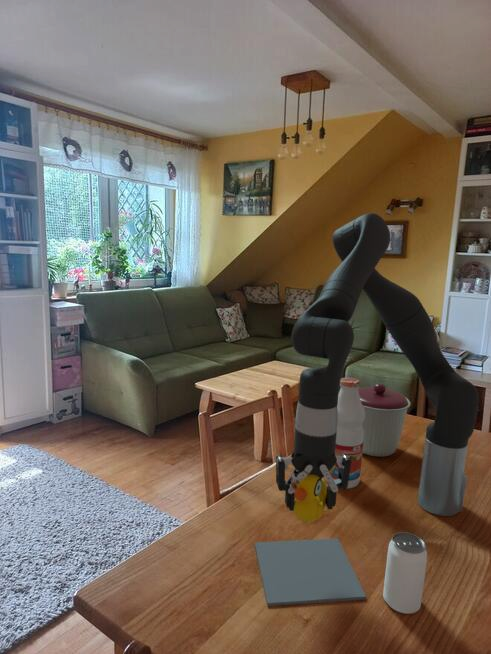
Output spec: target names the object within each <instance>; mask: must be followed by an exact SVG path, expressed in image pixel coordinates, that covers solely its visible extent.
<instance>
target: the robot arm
mask: <svg viewBox="0 0 491 654" xmlns="http://www.w3.org/2000/svg"><path fill="white" fill-rule="evenodd" d="M390 243H391V233H390V228H389V226H388V224H387V223H386V221H385V219H384V218H383V217H382V216H381V215H379V214H377V213H375V212H369V213H365V214H362V215H360V216H358V217H357V218H355V219H353V220H351V221H349V222H348V223H346V224H343V225H342V226H341V227H339V228H338V229H336V230H335V231H334V232H333V234H332V244H333V248H334V250H335V252H336V254H337V256H338V257H339V259H340V260H341V263H340V264H339V265H337V267H336V268H335V269H334V270H333V271H332V273H331V274H330V275H329V277H328V278H327V280H326V281H325V283H324V285H323V286H322V290H321V291H320V294H319V296H318V298H317V300H316V301H314V302H313V303H312V304H311V305H310V306H309V307H308V308H307V309H306V310H305V311H304V312H303V313H302V314H301V315H300V316H299V317H298V319H297V320H296V321H295V323H294V325H293V328H292V331H291V337H290V338H291V344H292V347H293V348H294V351H295V352H296V353H298V354H300V355H302V356H305V357H306V356H308V357H313V358H314V357H315V358H319V359H327V360H328V362H327V363H328V364H327V365H326V366H321V367H317V366H316V367H310V368H305V369H303V371H301V372H300V375H299V382H298V384H299V385H298V399H297V400H298V401H297V406H296V413H295V418H294V426H295V427H294V440H293V452H292V454H291V456H284V457H283V455H281V454H277V455H276V456H275V482H276V486H277V487H278V491H280V492H283V491H284V492H285V493H284V503H285V506H286V508H287V509H289V511H290V512H292V511H293V512H294V502H295V500H296V498H295V490H296V488H297V484H299V483H300V481H301V480H303V479H304V478H306V476H307V475H308V474H314V475H317V476H318V477H319V478H320V479H324V480H325V479H326V480H325V482H326V483H327V484H328V486H327V485H326V486H327V490H326V504H325V507H327V510H333V507H335V506H336V504H337V503H336V502H337V492H338V491H339V490H341V489H342V490H345V489H346V488H347V487H348V481H349V475H350V468H351V460H350V459H349V457H348V456H347V455H346V454H345V453H344V454H342V455H341V456H335V447H336V434H337V423H338V408H337V406H338V405H337V404H338V394H339V392H340V380H341V379H342V373H343V371H344V368H345V365H346V363H347V360H348V358H349V356H350V355H349V354H350V353H351V351H352V347H353V346H354V345H353V344H354V340H355V339H354V338H355V334H354V333H355V332H354V329H353V327H352V326H351V324H350V323H349V321H351V319H352V317H353V315H354V313H355V310H356V307H357V304H358V301H359V299H360V297H361V294H362V291H363V292H364V293H365V295H366V297H367V298H368V299H369V301H370V302H371V304H372V306H373V307H374V309H375V311H376V312H377V314H378V316H379V317H380V319H381V321H382V322H383V324H384V326H385V328H386V330H388V332H389V334H390V336H391V337H392V339H393V340H394V342H395V343H396V345H397V346H398V347H399V349H400V350H401V351H402V353H403V354H404V356H405V357H406V358H407V360H408V361H409V362H410V363H411V365H412V367H413V368H414V371H415V373H416V375H417V377H418V379H419V381H420V382H421V385H422V387H423V389H424V392H425V394H426V396H427V398H428V400H429V401H430V403H431V404H433V405H434V406H435V407H436V410H435V417H434V422H430V423H428V425H427V426H426V431H425V438H424V445H423V446H424V447H423V455H422V463H421V470H420V471H421V472H420V479H419V485H418V486H419V487H418V495H417V502H418V505H419V507H421V508H422V509H423V510H425V511H426V512H428V513H431V514H434V515H436V516H442V517H450V516H455V515H456V514H457V513H459V512H462V511H463V505H464V500H465V499H464V498H465V491H466V485H467V480H468V479H467V478H468V475H467V474H466V473H465V472H464V471H465V466H466V458H467V450H468V445H469V439H470V438H471V437H472V435H473V433H474V430H475V426H476V420H477V415H478V411H479V405H480V404H479V401H480V398H479V391H478V389H477V387H476V386H475V385H474V384H473V383H471V382H470V381H469V380H467V379H466V378H464V377H463V376H462V375H460V374H458V372H456V370H455V369H454V368H453V366H452V365H451V364H450V363H449V361H448V360H447V358H446V357H445V355H444V354H443V352H442V350H441V349H440V346H439V342H438V337H437V333H436V330H435V326H434V324H433V322H432V320H431V317H430V315H429V314H428V312H427V311H426V309H425V307H424V305H423V304H422V302H421V300H420V299H419V298H418V297H417V296H416V295H415V294H414V293H412V292H411V291H410V290H407V289H406V288H404V287H402V286H400V285H399V284H397V283H395V282H393V281H391V280H390V279H388V278H387V277H384V276H383V275H382V274H381V273H380V272H379V271H378V270H377V269H376V266H378V264H379V262H380V260H381V259H382V258H383V256H384V254H385V253H386V252H387V250H388V248H389V246H390ZM336 462H337V464H338V466H339V472H338V479H336V480H333V478H332V476H331V474H330V473H329V471H330V470H331V469H332V467H333V466H334V465H335V464H336ZM289 465H293V467H294V468H293V469H292V470H291V473H290V476H289V477H288V478H287V480H286V471H287V470H288V469H289ZM346 490H347V489H346Z"/></svg>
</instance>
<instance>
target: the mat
mask: <svg viewBox="0 0 491 654" xmlns="http://www.w3.org/2000/svg"><path fill="white" fill-rule="evenodd" d="M254 549H255V554H256V559H257V563H258V568H259V573H260V577H261V578H260V579H261V581H262V588H263V591H264V592H263V593H264V597H265V601H266V605H267V607H274V606H275V607H277V606H287V605H290V606H291V605H305V604H315V603H332V602H346V601H359V600H360V601H361V600H367V595H366V593H365V591H364V589H363V587H362V585H361V583H360V581H359V578H358V576H357V575H356V572H355V571H354V568H353V566H352V564H351V562H350V560H349V558H348V556H347V554H346V552H345V550H344V548H343V546H342V544H341V542H340V539H339V538H318V539H301V540H300V539H298V540H297V539H296V540H279V541H262V542H261V541H260V542H259V541H258V542H254Z"/></svg>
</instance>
